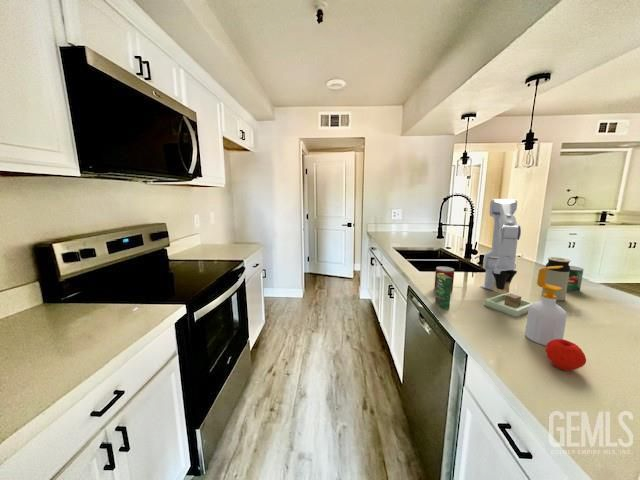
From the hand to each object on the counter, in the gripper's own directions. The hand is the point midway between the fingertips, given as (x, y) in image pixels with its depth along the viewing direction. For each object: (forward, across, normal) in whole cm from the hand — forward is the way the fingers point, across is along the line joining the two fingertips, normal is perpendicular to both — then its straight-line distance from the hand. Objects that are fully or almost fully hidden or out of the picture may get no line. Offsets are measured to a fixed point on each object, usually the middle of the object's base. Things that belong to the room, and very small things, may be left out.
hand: (502, 287), depth 106 cm
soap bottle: (+9, +15, +19) cm, 26 cm away
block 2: (+8, -6, +2) cm, 10 cm away
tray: (+8, -3, +2) cm, 9 cm away
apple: (+9, +28, +27) cm, 40 cm away
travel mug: (+9, -32, +8) cm, 34 cm away
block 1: (+2, 0, 0) cm, 2 cm away
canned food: (+9, +1, -24) cm, 26 cm away
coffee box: (+9, +18, -15) cm, 25 cm away
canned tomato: (+9, -52, +8) cm, 53 cm away
